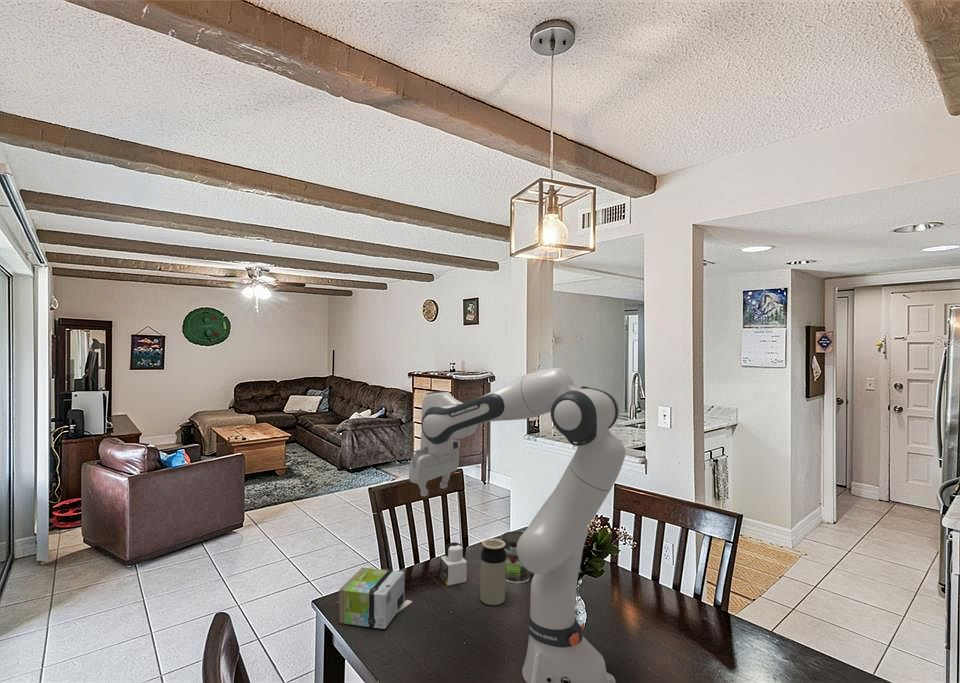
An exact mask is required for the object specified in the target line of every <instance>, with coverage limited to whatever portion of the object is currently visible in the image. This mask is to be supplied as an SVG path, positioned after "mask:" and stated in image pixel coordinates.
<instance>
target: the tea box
mask: <svg viewBox="0 0 960 683" xmlns="http://www.w3.org/2000/svg"><path fill="white" fill-rule="evenodd" d="M338 592H339V594H338V595H339V597H338V598H339V600H338V601H339V603H338V610H339V611H338V612H339V615H338V618H339V619H338V620H339V622H338V623H340V624H345V625H353V626H359V627H366V628H367V627H368V628H372V627H374V628H373V629H382V630H386V628H387V627H388V626H389V624H390V623H391V622H392V620H393V619H394V617H395V616H396V614H398V613H399V612H398V610H399V609H400V608H401V606H402V605H403V604H404V602H405V572H404V571H401V570H391V569H382V568H381V569H380V568H369V567H361V568H360V569H359V570H358V571H356V572H355V574H354V575H353V576H352V577H351V578H350V579H349V580H348V581H347V582H345V584H343V585H342V586H341V588H339V589H338ZM397 612H398V613H397Z"/></svg>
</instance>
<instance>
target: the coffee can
mask: <svg viewBox="0 0 960 683" xmlns="http://www.w3.org/2000/svg"><path fill="white" fill-rule="evenodd" d="M523 533H524V531H523V532H522V531H515V530H512V531H507V532H504V533H503V534H502V535H501V540H502V541H504V542H505V544H506V545H505V547H504V550H505V552H506V580H505V582H507V583H510V584H517V585H518V584H525V583H527V582H529V581H530V579H531V576H530V575H531V572H530V571H528V570H527V569H526V568H525V567H524V566H523V565H522V564H521V562H520V560H519V558H518V555H517V542H518V540H519V538H520V537H521V535H522V534H523Z"/></svg>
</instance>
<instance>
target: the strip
mask: <svg viewBox="0 0 960 683" xmlns="http://www.w3.org/2000/svg"><path fill="white" fill-rule="evenodd" d="M410 604H413V601H412V600H410V599H406V600H404V604H403V605H402V606H401V608H400V609H399V610H398V612H397V613H396V614H398V613H399V612H401V611H402V610H404V609H405V608H406V607H408V606H410ZM371 628H372V629H375V628H374V627H371Z"/></svg>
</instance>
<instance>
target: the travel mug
mask: <svg viewBox="0 0 960 683" xmlns="http://www.w3.org/2000/svg"><path fill="white" fill-rule="evenodd" d="M481 545H482V547H483V548H482V551H481V553H480V585H479V588H480V593H479V599H480V601H481V602H482V603H483V604H486V605H490V606H499V605H501V604H503V603H504V602H505V601H506V581H505V580H506V552H505V550H504V547H505V545H506V544H505V542H504V541H502V539H499V538H488V539H484V540H483V541H482V543H481Z"/></svg>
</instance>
